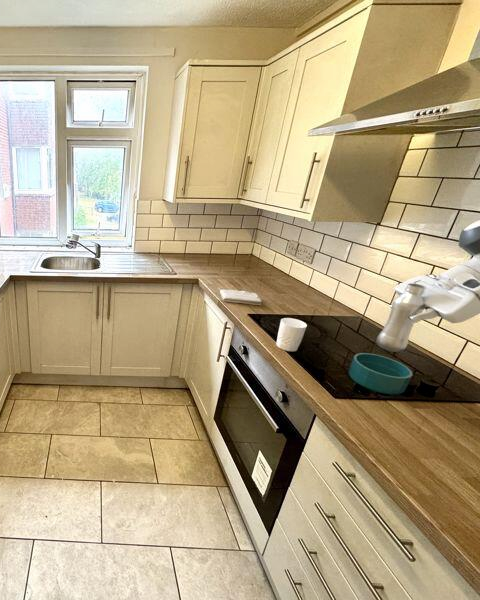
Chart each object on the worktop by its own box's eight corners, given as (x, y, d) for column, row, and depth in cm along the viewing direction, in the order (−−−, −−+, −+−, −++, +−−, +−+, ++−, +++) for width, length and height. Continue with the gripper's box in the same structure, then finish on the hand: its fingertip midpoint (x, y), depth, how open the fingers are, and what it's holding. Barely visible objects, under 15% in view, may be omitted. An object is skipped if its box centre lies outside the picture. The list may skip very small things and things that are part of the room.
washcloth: (262, 306, 151) (263, 300, 150) (222, 302, 155) (223, 296, 154) (256, 297, 161) (257, 291, 160) (219, 293, 166) (220, 288, 164)
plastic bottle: (400, 347, 94) (429, 284, 86) (406, 357, 89) (437, 291, 81) (372, 341, 97) (397, 280, 90) (376, 350, 92) (404, 286, 84)
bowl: (390, 373, 101) (397, 357, 99) (414, 399, 89) (423, 382, 87) (341, 365, 105) (346, 349, 103) (358, 389, 94) (365, 372, 91)
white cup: (277, 339, 121) (284, 315, 117) (301, 347, 116) (309, 322, 112) (271, 346, 116) (278, 322, 112) (296, 355, 111) (303, 329, 107)
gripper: (422, 264, 92) (371, 293, 98) (490, 288, 74) (423, 322, 79) (433, 280, 93) (383, 307, 99) (504, 307, 74) (436, 339, 80)
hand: (401, 314), depth 89 cm, fingers closed on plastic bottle, 6 cm apart
